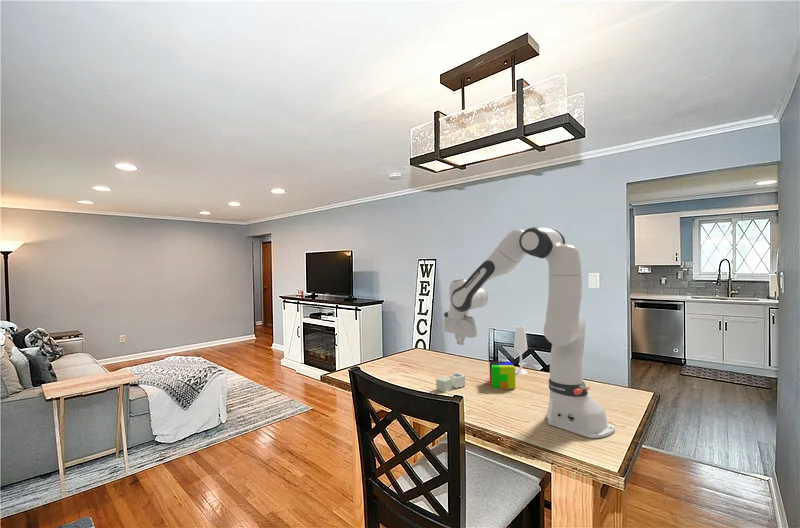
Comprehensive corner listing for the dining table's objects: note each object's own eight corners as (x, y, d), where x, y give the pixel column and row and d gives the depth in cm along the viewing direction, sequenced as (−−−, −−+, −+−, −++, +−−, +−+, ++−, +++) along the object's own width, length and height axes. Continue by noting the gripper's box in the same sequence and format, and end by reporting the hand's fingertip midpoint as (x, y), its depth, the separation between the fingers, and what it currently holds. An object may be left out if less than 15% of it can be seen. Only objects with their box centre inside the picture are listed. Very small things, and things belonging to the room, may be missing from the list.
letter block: (458, 372, 175) (458, 383, 175) (449, 374, 173) (450, 385, 173) (464, 375, 171) (465, 386, 171) (456, 377, 168) (456, 388, 168)
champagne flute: (529, 371, 193) (528, 326, 193) (525, 374, 187) (525, 328, 187) (516, 369, 197) (515, 325, 197) (512, 373, 191) (511, 327, 191)
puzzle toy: (511, 382, 177) (510, 361, 177) (515, 389, 167) (515, 367, 167) (489, 381, 178) (489, 361, 178) (493, 388, 168) (492, 367, 168)
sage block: (451, 390, 167) (451, 379, 167) (444, 392, 164) (444, 381, 164) (443, 387, 171) (443, 376, 171) (436, 390, 167) (436, 379, 167)
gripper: (479, 316, 162) (480, 347, 162) (451, 311, 180) (452, 340, 180) (468, 317, 159) (469, 349, 159) (441, 312, 177) (442, 341, 177)
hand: (460, 344), depth 169 cm, fingers closed
